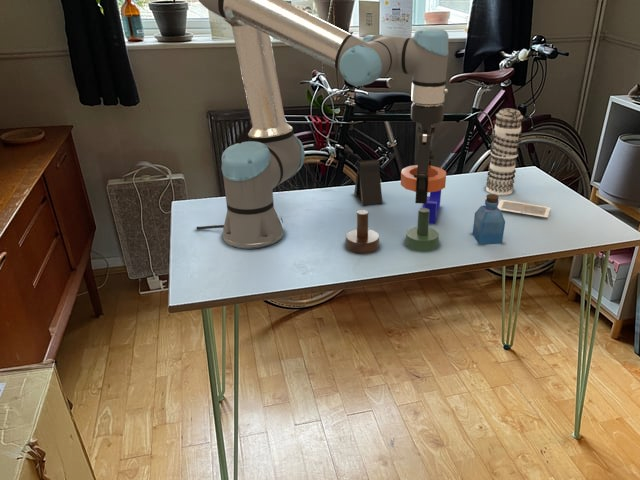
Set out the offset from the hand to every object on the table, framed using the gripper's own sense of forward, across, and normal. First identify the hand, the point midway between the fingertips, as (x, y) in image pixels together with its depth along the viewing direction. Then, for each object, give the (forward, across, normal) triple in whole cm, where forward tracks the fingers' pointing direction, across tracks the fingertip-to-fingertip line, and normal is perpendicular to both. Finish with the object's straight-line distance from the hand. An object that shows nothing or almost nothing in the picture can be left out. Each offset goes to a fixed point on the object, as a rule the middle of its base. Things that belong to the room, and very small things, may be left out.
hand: (422, 193), depth 144 cm
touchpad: (+14, +26, -28) cm, 41 cm away
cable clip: (+14, +19, -2) cm, 24 cm away
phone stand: (+14, +27, +18) cm, 35 cm away
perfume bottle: (+14, +6, -18) cm, 23 cm away
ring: (-3, 0, 0) cm, 3 cm away
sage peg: (+14, 0, 0) cm, 14 cm away
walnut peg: (+14, -4, +14) cm, 20 cm away
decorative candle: (+14, +42, -22) cm, 50 cm away
